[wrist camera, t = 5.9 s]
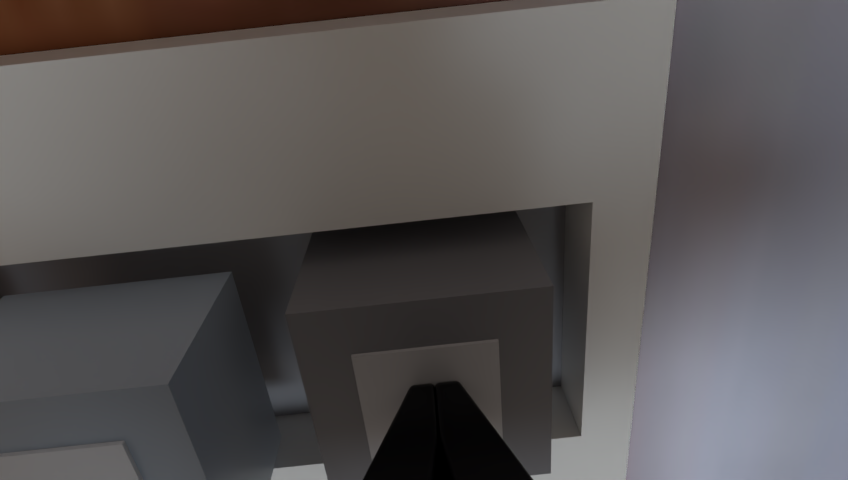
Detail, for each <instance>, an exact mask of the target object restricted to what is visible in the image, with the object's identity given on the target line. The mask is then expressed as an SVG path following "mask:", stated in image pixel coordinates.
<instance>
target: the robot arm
mask: <svg viewBox="0 0 848 480" xmlns="http://www.w3.org/2000/svg"><path fill="white" fill-rule="evenodd" d="M363 480H533V479H532V477H531V476H530V475H529V473H528V472H527V471H526V469H525V468H524V467H523V465H522V464H521V463H520V461H519V460H518V459H517V457H516V456H515V455H514V453H513V452H512V451H511V449H510V448H509V447H508V445H507V444H506V443H505V441H504V440H503V439H502V437H501V436H500V435H499V433H498V432H497V431H496V429H495V428H494V427H493V425H492V424H491V423H490V422H489V420H488V419H487V418H486V416H485V415H484V414H483V412H482V411H481V410H480V408H479V407H478V406H477V404H476V403H475V402H474V400H473V399H472V398H471V396H470V395H469V394H468V392H467V391H466V390H465V388H464V387H463V386H462V384H461V383H460V382H458V381H447V382H439V383H437V384H436V385H435V386H434V385H433V384H432V383H428V384H419V385H412V386H411V387H410V388H409V390H408V392H407V393H406V395H405V397H404V399H403V401H402V403H401V405H400V407H399V409H398V411H397V413H396V415H395V417H394V419H393V421H392V423H391V425H390V427H389V429H388V431H387V433H386V435H385V437H384V439H383V441H382V443H381V445H380V447H379V449H378V450H377V452H376V454H375V456H374V458H373V460H372V462H371V464H370V466H369V468H368V470H367V472H366V474H365V476H364V478H363Z"/></svg>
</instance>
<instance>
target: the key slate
mask: <svg viewBox="0 0 848 480" xmlns="http://www.w3.org/2000/svg"><path fill="white" fill-rule="evenodd" d="M280 441H281V434H280V431H279V428H278V424H277V421H276V418H275V414H274V411H273V408H272V404H271V401H270V398H269V394H268V391H267V388H266V384H265V381H264V378H263V374H262V371H261V368H260V364H259V361H258V358H257V354H256V351H255V348H254V344H253V341H252V338H251V334H250V331H249V328H248V324H247V321H246V318H245V314H244V311H243V308H242V304H241V301H240V298H239V294H238V291H237V288H236V284H235V281H234V278H233V274H232V271H231V272H222V273H213V274H203V275H194V276H185V277H175V278H166V279H157V280H147V281H138V282H129V283H119V284H110V285H101V286H91V287H82V288H73V289H63V290H54V291H45V292H35V293H26V294H17V295H7V296H3V297H2V298H1V299H0V480H271V477H272V473H273V469H274V465H275V461H276V457H277V453H278V449H279V445H280Z"/></svg>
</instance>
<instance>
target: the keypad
mask: <svg viewBox="0 0 848 480" xmlns="http://www.w3.org/2000/svg"><path fill="white" fill-rule="evenodd" d="M676 4H677V0H508V1H499V2H490V3H480V4H471V5H462V6H453V7H444V8H434V9H425V10H416V11H407V12H398V13H388V14H379V15H370V16H361V17H352V18H342V19H333V20H324V21H315V22H306V23H296V24H287V25H278V26H269V27H260V28H250V29H241V30H232V31H223V32H214V33H204V34H195V35H186V36H177V37H168V38H158V39H149V40H140V41H131V42H122V43H112V44H103V45H94V46H85V47H75V48H66V49H57V50H48V51H39V52H29V53H20V54H11V55H2V56H0V298H2V297H3V296H7V295H17V294H26V293H35V292H45V291H54V290H63V289H73V288H82V287H91V286H101V285H110V284H119V283H129V282H138V281H147V280H157V279H166V278H175V277H185V276H194V275H203V274H213V273H222V272H231V271H232V274H233V278H234V281H235V284H236V288H237V291H238V294H239V298H240V301H241V304H242V308H243V311H244V314H245V318H246V321H247V324H248V328H249V331H250V334H251V338H252V341H253V344H254V348H255V351H256V354H257V358H258V361H259V364H260V368H261V371H262V374H263V378H264V381H265V384H266V388H267V391H268V394H269V398H270V401H271V404H272V408H273V411H274V414H275V418H276V421H277V424H278V428H279V431H280V434H281V441H280V445H279V449H278V453H277V457H276V461H275V465H274V469H273V473H272V477H271V480H328V479H327V475H326V471H325V467H324V464H323V460H322V456H321V452H320V448H319V444H318V440H317V437H316V433H315V429H314V425H313V421H312V417H311V413H310V410H309V406H308V402H307V398H306V394H305V390H304V386H303V383H302V379H301V375H300V371H299V367H298V363H297V359H296V356H295V352H294V348H293V344H292V340H291V336H290V332H289V329H288V325H287V321H286V317H285V313H286V310H287V307H288V304H289V301H290V298H291V295H292V292H293V289H294V286H295V283H296V280H297V277H298V274H299V271H300V268H301V265H302V262H303V259H304V256H305V253H306V250H307V247H308V244H309V241H310V238H311V235H312V232H320V231H329V230H338V229H348V228H357V227H366V226H376V225H385V224H394V223H403V222H413V221H422V220H431V219H441V218H450V217H459V216H469V215H478V214H487V213H497V212H506V211H516V213H517V214H518V216H519V218H520V220H521V222H522V224H523V226H524V228H525V230H526V232H527V234H528V236H529V238H530V240H531V242H532V244H533V246H534V248H535V250H536V252H537V254H538V256H539V258H540V260H541V262H542V264H543V266H544V268H545V270H546V272H547V274H548V276H549V278H550V280H551V282H552V284H553V286H554V297H553V364H552V432H551V473H550V474H540V475H531V477H532V479H533V480H626V472H627V463H628V453H629V444H630V435H631V425H632V416H633V407H634V397H635V388H636V378H637V369H638V360H639V350H640V341H641V332H642V322H643V313H644V303H645V294H646V285H647V275H648V266H649V257H650V247H651V238H652V229H653V219H654V210H655V200H656V191H657V182H658V172H659V163H660V154H661V144H662V135H663V125H664V116H665V107H666V97H667V88H668V79H669V69H670V60H671V50H672V41H673V32H674V22H675V13H676Z"/></svg>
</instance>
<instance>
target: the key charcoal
mask: <svg viewBox="0 0 848 480" xmlns="http://www.w3.org/2000/svg"><path fill="white" fill-rule="evenodd" d="M553 297H554V286H553V284H552V282H551V280H550V278H549V276H548V274H547V272H546V270H545V268H544V266H543V264H542V262H541V260H540V258H539V256H538V254H537V252H536V250H535V248H534V246H533V244H532V242H531V240H530V238H529V236H528V234H527V232H526V230H525V228H524V226H523V224H522V222H521V220H520V218H519V216H518V214H517V213H516V211H506V212H497V213H487V214H478V215H469V216H459V217H450V218H441V219H431V220H422V221H413V222H403V223H394V224H385V225H376V226H366V227H357V228H348V229H338V230H329V231H320V232H312V235H311V238H310V241H309V244H308V247H307V250H306V253H305V256H304V259H303V262H302V265H301V268H300V271H299V274H298V277H297V280H296V283H295V286H294V289H293V292H292V295H291V298H290V301H289V304H288V307H287V310H286V313H285V317H286V321H287V325H288V329H289V332H290V336H291V340H292V344H293V348H294V352H295V356H296V359H297V363H298V367H299V371H300V375H301V379H302V383H303V386H304V390H305V394H306V398H307V402H308V406H309V410H310V413H311V417H312V421H313V425H314V429H315V433H316V437H317V440H318V444H319V448H320V452H321V456H322V460H323V464H324V467H325V471H326V475H327V479H328V480H363V478H364V476H365V474H366V472H367V470H368V468H369V466H370V464H371V462H372V460H373V458H374V456H375V454H376V452H377V450H378V449H379V447H380V445H381V443H382V441H383V439H384V437H385V435H386V433H387V431H388V429H389V427H390V425H391V423H392V421H393V419H394V417H395V415H396V413H397V411H398V409H399V407H400V405H401V403H402V401H403V399H404V397H405V395H406V393H407V392H408V390H409V388H410V387H411V386H412V385H419V384H428V383H432V384H433V385H434V386H435V385H436V384H437V383H439V382H447V381H458V382H460V383H461V384H462V386H463V387H464V388H465V390H466V391H467V392H468V394H469V395H470V396H471V398H472V399H473V400H474V402H475V403H476V404H477V406H478V407H479V408H480V410H481V411H482V412H483V414H484V415H485V416H486V418H487V419H488V420H489V422H490V423H491V424H492V425H493V427H494V428H495V429H496V431H497V432H498V433H499V435H500V436H501V437H502V439H503V440H504V441H505V443H506V444H507V445H508V447H509V448H510V449H511V451H512V452H513V453H514V455H515V456H516V457H517V459H518V460H519V461H520V463H521V464H522V465H523V467H524V468H525V469H526V471H527V472H528V473H529V475H530V476H531V475H540V474H550V473H551V432H552V364H553Z"/></svg>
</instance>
